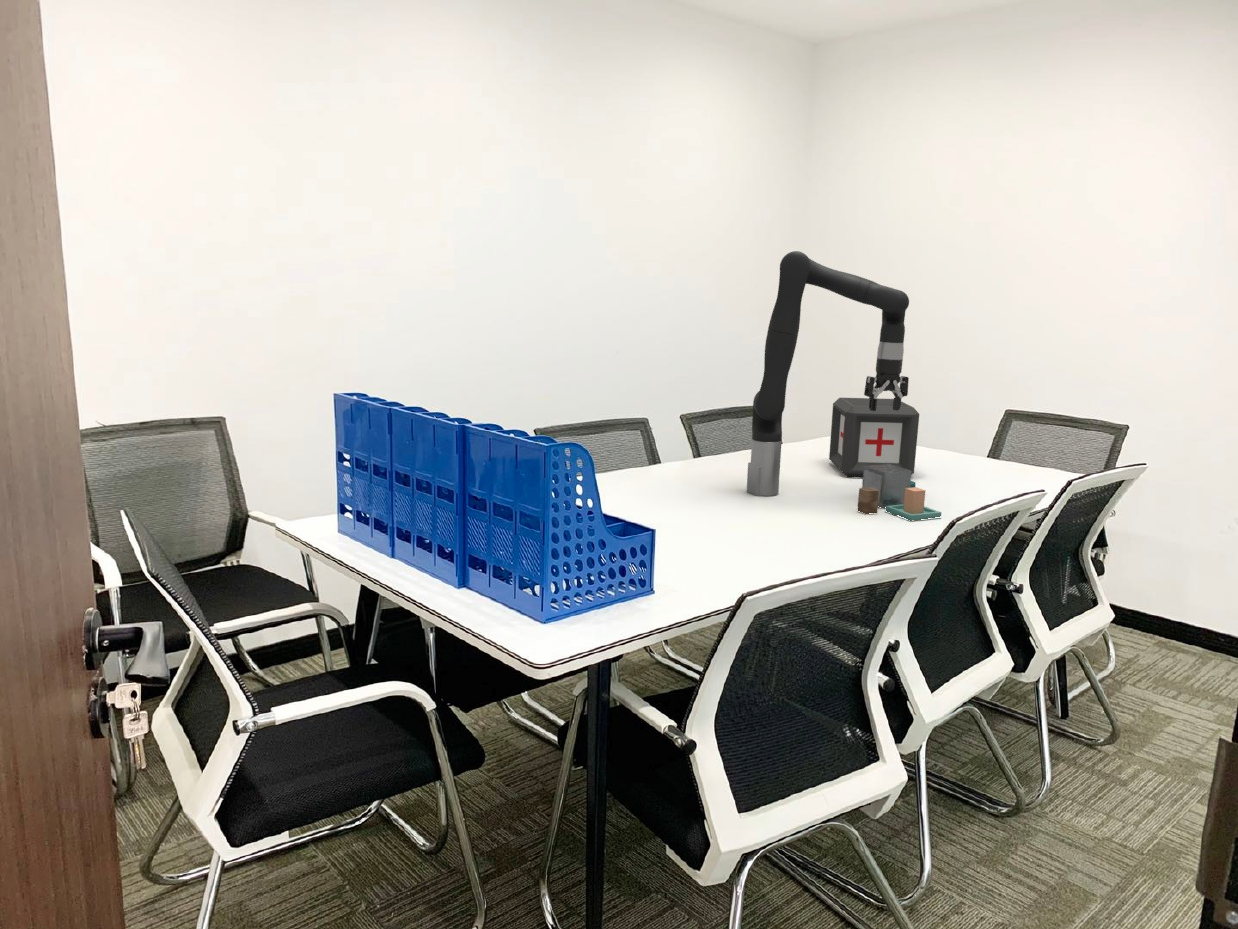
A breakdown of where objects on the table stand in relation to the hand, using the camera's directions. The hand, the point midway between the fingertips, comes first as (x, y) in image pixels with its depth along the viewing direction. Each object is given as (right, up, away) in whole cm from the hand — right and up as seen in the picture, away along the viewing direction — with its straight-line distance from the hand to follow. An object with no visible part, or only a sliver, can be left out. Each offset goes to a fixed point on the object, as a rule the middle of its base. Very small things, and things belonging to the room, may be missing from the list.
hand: (884, 410), depth 276 cm
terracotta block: (+5, -31, -11) cm, 33 cm away
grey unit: (+1, -28, +2) cm, 29 cm away
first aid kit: (+9, -19, +47) cm, 52 cm away
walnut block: (-8, -31, -9) cm, 33 cm away
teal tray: (+5, -31, -11) cm, 34 cm away
